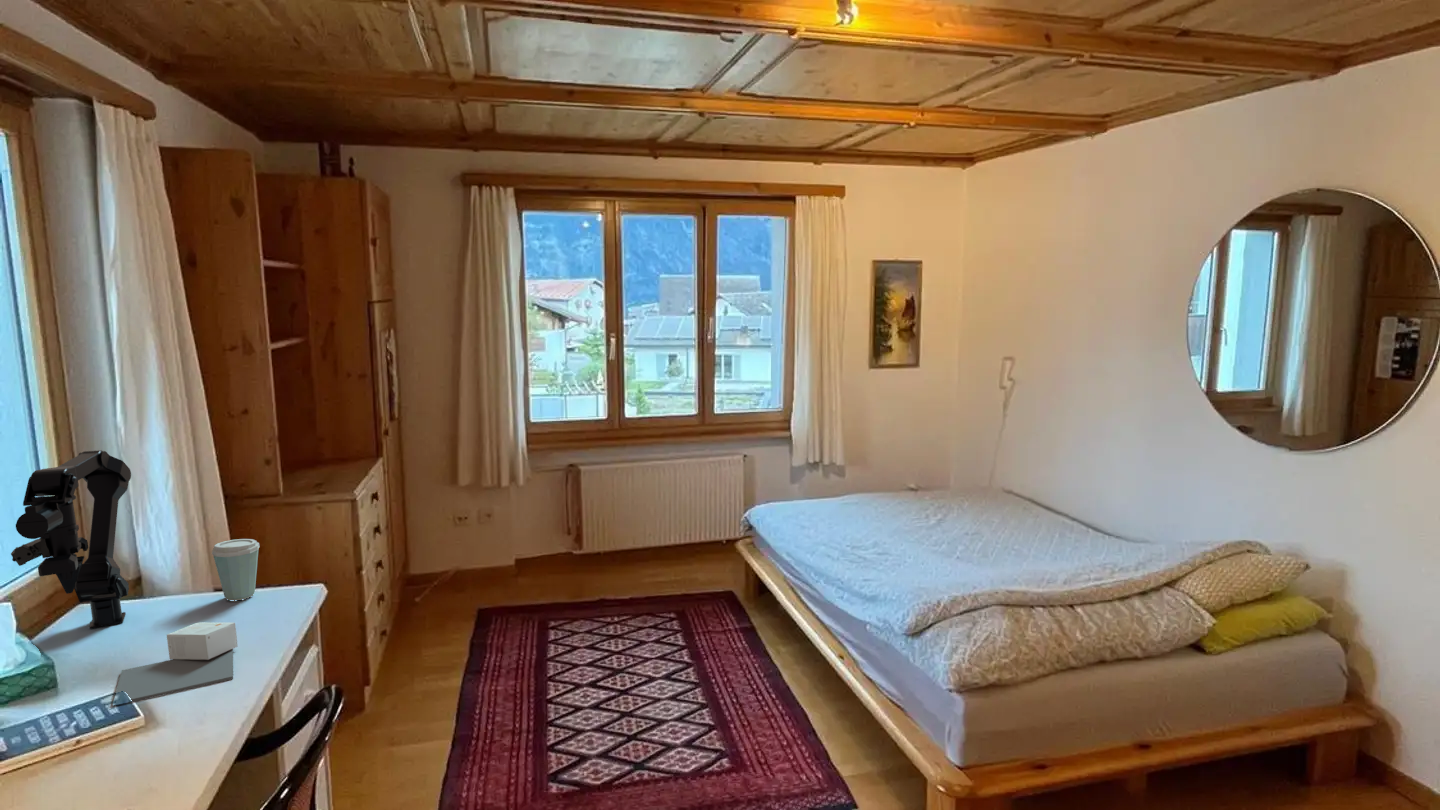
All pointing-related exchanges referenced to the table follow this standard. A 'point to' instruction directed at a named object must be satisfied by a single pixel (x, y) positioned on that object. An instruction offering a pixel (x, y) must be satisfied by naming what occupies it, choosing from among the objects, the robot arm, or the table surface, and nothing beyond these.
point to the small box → (202, 641)
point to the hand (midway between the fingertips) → (69, 592)
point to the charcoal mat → (174, 676)
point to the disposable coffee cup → (237, 567)
